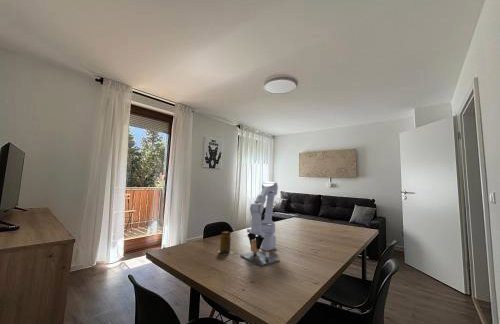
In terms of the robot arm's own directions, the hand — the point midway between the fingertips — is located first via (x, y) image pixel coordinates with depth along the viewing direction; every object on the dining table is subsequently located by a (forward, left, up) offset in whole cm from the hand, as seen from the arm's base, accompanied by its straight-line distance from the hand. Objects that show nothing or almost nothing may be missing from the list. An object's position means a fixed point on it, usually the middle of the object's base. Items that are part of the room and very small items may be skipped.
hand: (255, 247), depth 124 cm
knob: (0, 0, -2) cm, 2 cm away
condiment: (+10, -16, -6) cm, 20 cm away
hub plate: (0, +4, -5) cm, 7 cm away
